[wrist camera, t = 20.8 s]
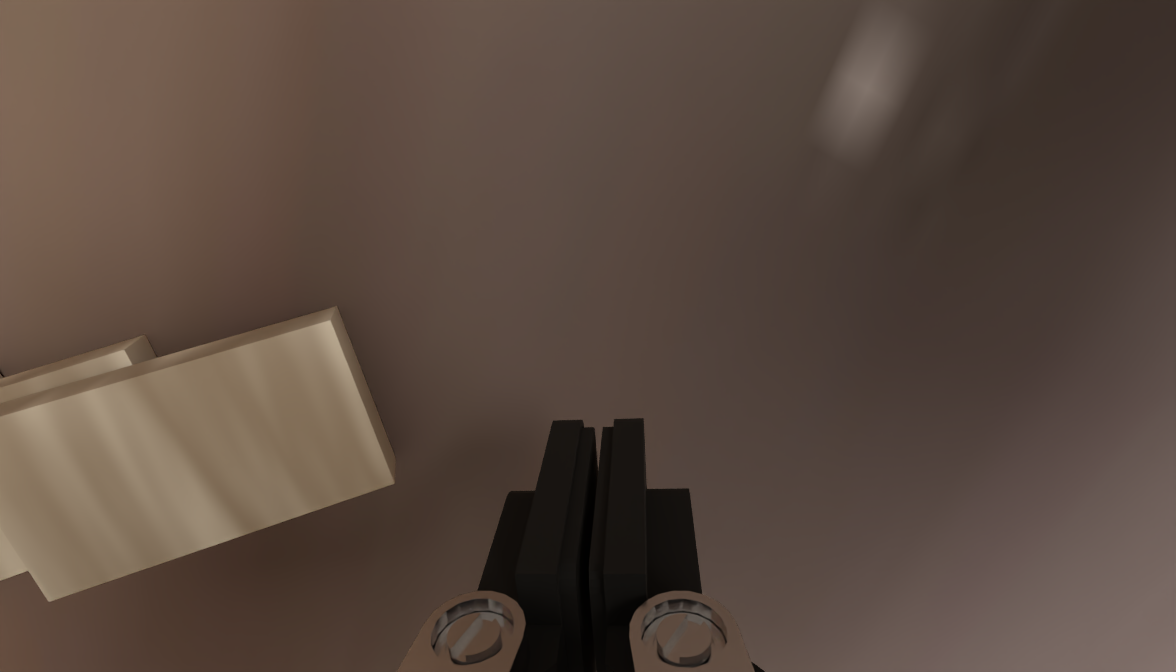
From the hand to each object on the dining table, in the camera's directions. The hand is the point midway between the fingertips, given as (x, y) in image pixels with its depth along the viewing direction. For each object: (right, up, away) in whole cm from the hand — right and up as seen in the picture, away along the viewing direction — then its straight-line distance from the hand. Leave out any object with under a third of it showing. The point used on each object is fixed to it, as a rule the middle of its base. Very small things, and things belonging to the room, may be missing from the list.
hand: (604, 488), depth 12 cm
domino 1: (-7, +1, +6) cm, 9 cm away
